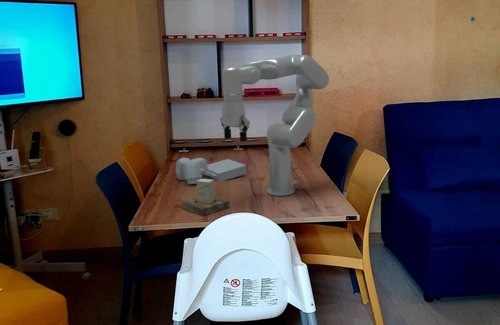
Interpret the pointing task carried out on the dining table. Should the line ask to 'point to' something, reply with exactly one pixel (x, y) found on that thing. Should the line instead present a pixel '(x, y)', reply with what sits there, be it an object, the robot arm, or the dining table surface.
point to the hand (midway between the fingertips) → (235, 139)
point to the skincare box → (205, 191)
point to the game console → (208, 169)
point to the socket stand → (205, 206)
